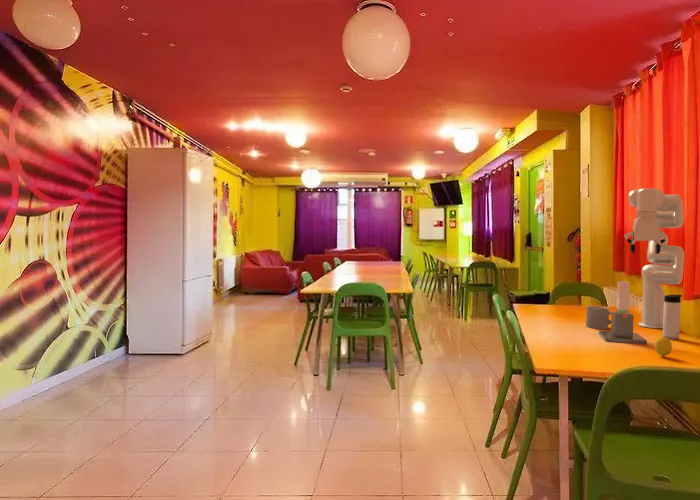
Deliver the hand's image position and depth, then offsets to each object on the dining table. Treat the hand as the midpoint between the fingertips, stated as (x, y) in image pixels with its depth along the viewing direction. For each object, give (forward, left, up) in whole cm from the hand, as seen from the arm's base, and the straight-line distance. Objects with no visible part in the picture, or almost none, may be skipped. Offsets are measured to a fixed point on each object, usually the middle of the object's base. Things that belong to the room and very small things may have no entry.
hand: (645, 253), depth 224 cm
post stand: (+8, -10, -38) cm, 40 cm away
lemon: (+38, -2, -38) cm, 54 cm away
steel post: (+8, -10, -31) cm, 33 cm away
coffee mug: (-18, -14, -38) cm, 45 cm away
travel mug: (-1, +12, -38) cm, 40 cm away
